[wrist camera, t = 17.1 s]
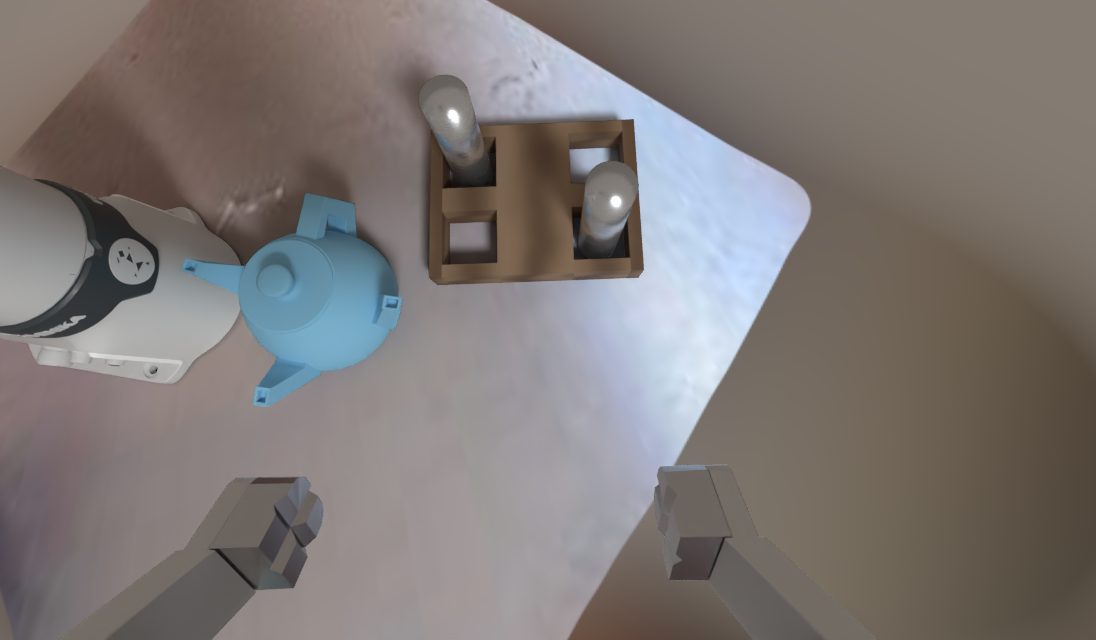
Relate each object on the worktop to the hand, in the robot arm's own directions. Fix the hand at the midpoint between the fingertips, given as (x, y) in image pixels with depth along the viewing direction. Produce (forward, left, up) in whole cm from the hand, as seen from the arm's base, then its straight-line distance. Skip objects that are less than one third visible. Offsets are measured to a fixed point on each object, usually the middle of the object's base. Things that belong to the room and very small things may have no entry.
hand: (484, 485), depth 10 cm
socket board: (0, +21, -33) cm, 40 cm away
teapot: (-21, +11, -34) cm, 41 cm away
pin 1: (-7, +25, -33) cm, 42 cm away
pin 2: (+6, +17, -33) cm, 38 cm away
